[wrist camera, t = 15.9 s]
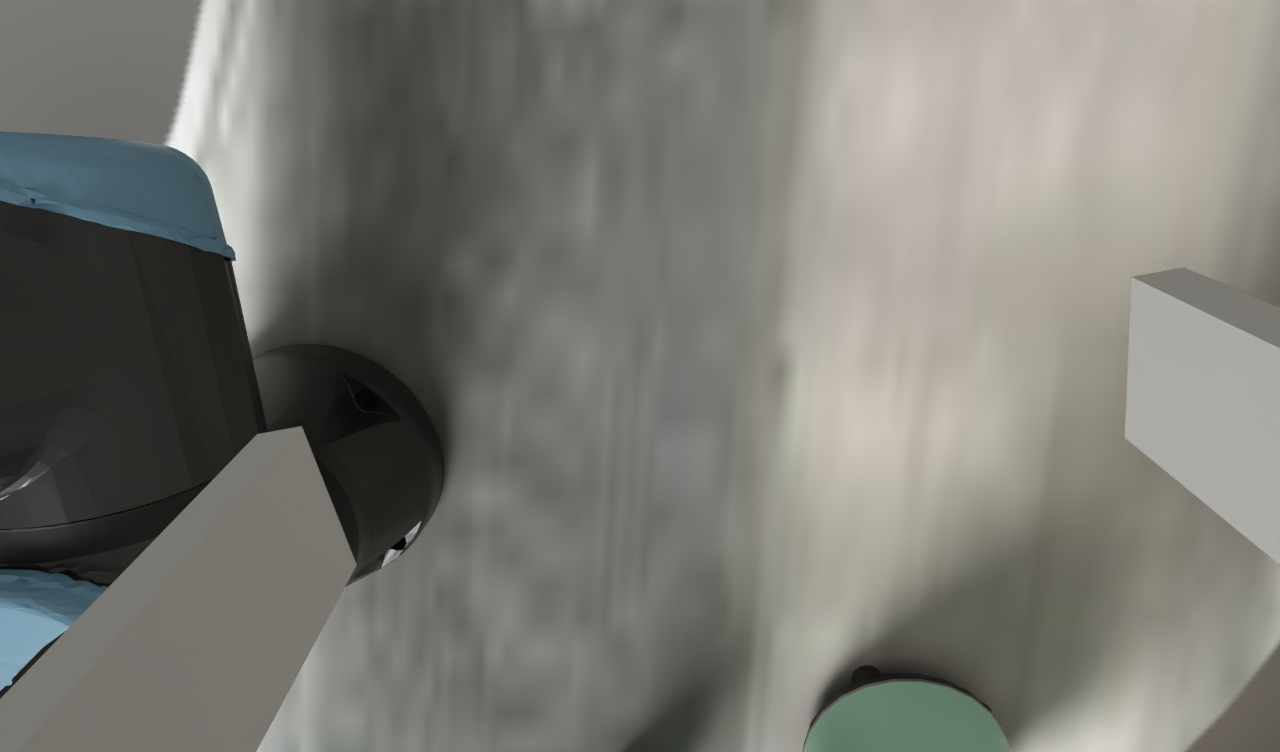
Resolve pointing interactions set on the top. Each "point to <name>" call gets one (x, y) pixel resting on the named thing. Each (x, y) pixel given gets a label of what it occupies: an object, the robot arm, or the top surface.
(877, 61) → the top surface
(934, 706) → the mint green blender
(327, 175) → the top surface
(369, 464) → the robot arm
